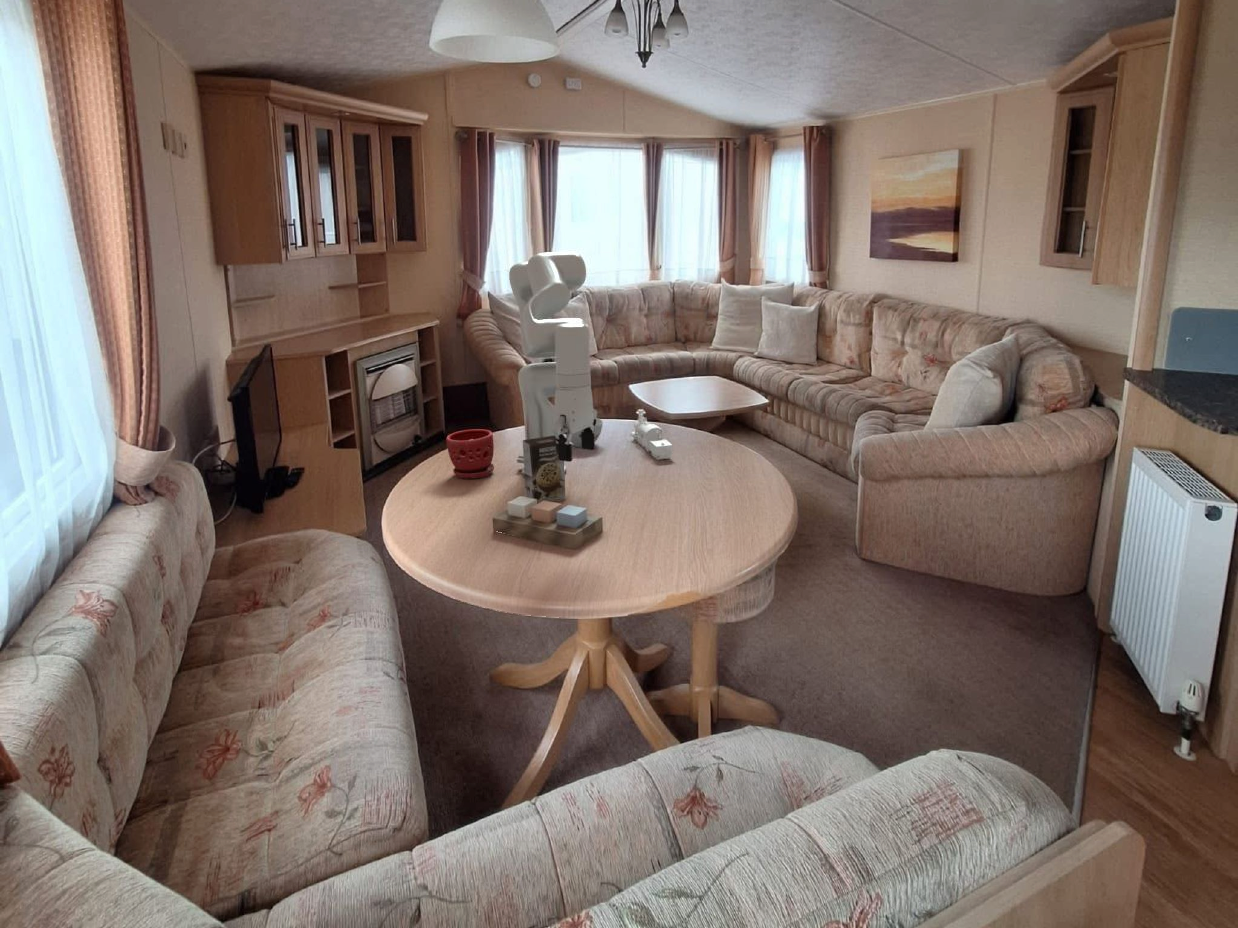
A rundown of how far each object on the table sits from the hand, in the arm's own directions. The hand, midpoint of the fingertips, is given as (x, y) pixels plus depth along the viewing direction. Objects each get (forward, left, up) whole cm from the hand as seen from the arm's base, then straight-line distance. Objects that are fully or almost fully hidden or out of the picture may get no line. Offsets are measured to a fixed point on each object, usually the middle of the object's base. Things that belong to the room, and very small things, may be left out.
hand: (577, 454), depth 183 cm
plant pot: (-52, +24, -20) cm, 60 cm away
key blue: (-1, -2, -16) cm, 17 cm away
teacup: (-39, +63, -20) cm, 77 cm away
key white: (-15, -2, -16) cm, 22 cm away
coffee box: (-21, +16, -20) cm, 33 cm away
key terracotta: (-8, -2, -16) cm, 18 cm away
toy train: (-18, +69, -20) cm, 74 cm away
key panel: (-8, -2, -19) cm, 21 cm away
